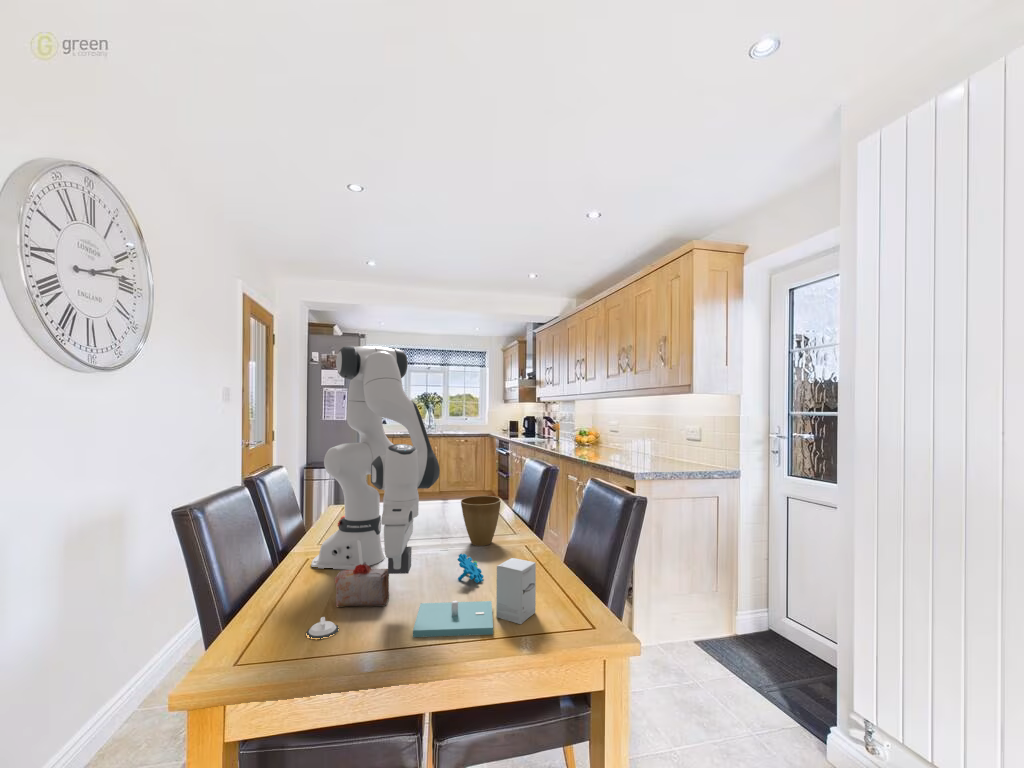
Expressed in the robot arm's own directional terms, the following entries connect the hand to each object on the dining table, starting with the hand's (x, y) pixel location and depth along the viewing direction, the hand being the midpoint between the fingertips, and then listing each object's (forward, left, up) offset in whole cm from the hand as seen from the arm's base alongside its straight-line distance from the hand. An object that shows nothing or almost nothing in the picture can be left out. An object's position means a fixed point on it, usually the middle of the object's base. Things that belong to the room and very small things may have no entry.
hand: (399, 563), depth 118 cm
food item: (-10, +5, -12) cm, 16 cm away
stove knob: (-16, -10, -12) cm, 22 cm away
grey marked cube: (0, 0, -2) cm, 2 cm away
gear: (+18, +18, -12) cm, 28 cm away
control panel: (+14, -7, -12) cm, 20 cm away
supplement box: (+29, -5, -12) cm, 32 cm away
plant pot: (+21, +53, -12) cm, 58 cm away
